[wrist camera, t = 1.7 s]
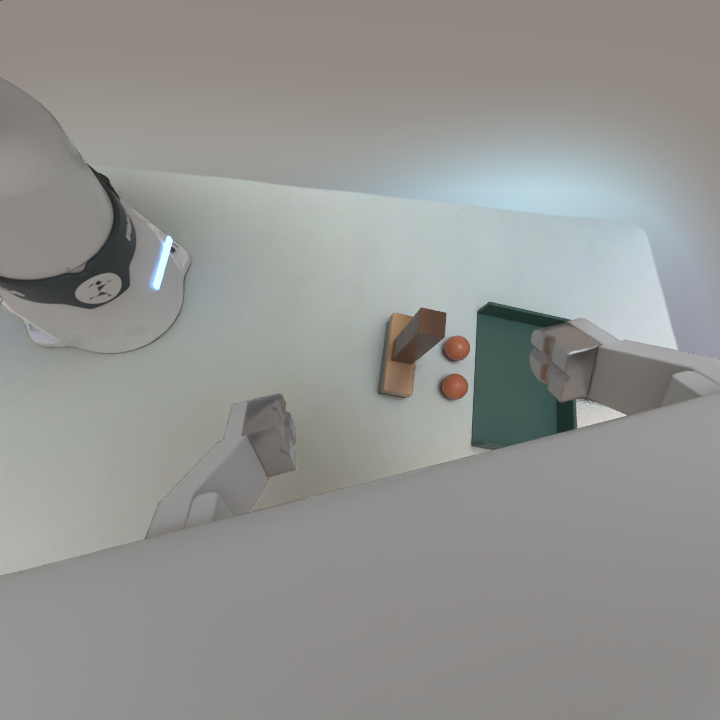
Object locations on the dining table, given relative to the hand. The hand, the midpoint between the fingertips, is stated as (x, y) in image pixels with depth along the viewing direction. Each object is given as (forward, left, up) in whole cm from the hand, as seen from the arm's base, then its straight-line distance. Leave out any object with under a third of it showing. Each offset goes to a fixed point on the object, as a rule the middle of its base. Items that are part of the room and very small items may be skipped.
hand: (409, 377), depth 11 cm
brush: (-2, +13, -32) cm, 35 cm away
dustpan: (+15, +27, -32) cm, 45 cm away
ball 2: (+6, +16, -32) cm, 37 cm away
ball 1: (+3, +20, -32) cm, 38 cm away
